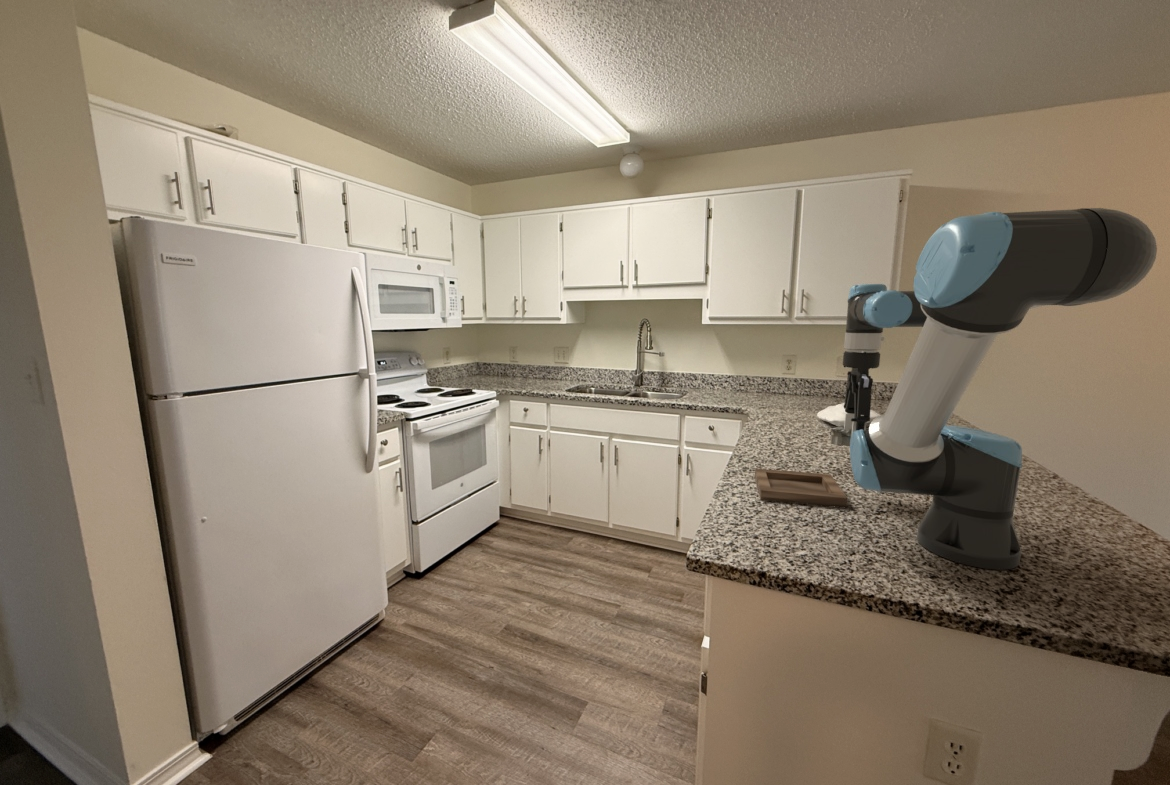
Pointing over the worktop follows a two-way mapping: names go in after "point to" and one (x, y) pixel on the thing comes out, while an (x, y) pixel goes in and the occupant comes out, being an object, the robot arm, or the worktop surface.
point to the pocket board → (799, 488)
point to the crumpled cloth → (839, 415)
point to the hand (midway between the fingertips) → (853, 442)
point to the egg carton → (840, 436)
